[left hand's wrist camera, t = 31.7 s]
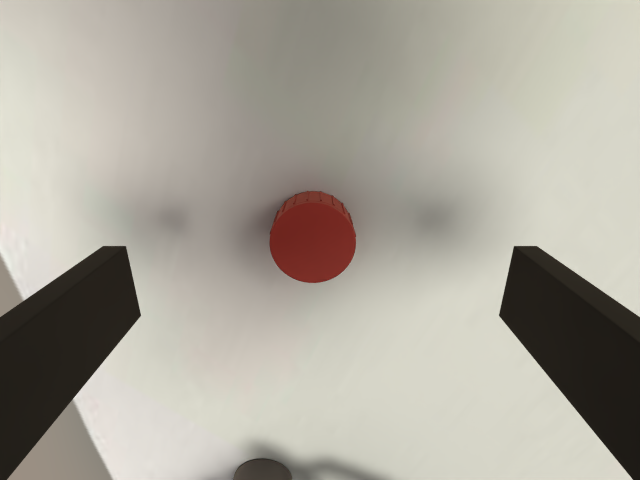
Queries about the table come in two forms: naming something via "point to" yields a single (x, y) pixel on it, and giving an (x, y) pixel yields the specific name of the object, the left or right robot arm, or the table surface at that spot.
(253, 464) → the bottle
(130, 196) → the table surface
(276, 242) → the cap
